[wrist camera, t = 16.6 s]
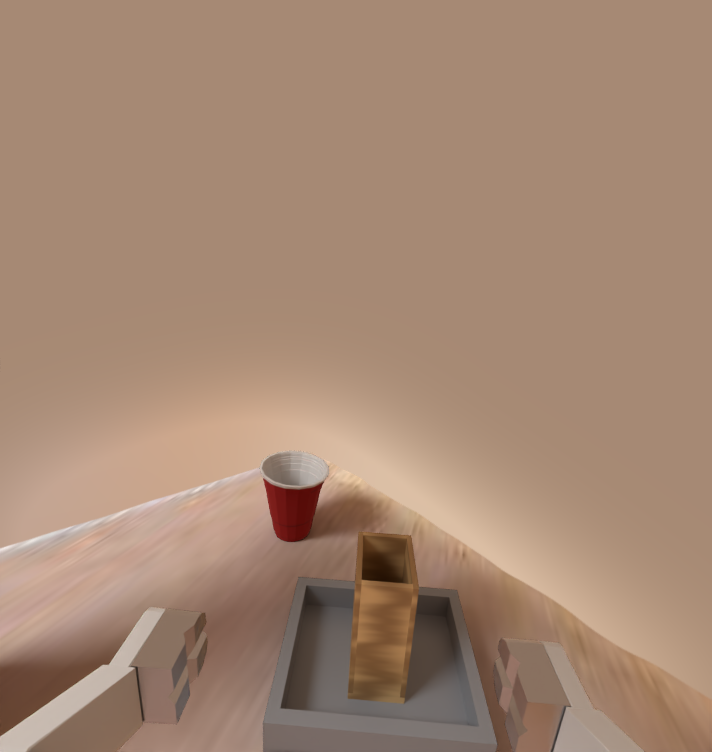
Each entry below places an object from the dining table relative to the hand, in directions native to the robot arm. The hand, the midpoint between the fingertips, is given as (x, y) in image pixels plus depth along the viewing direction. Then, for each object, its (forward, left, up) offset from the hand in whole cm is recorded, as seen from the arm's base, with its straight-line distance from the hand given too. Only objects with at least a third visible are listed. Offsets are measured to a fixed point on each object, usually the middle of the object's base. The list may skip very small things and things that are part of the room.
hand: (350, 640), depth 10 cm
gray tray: (+11, +20, -32) cm, 39 cm away
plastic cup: (+6, +45, -32) cm, 56 cm away
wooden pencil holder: (+11, +20, -31) cm, 39 cm away
